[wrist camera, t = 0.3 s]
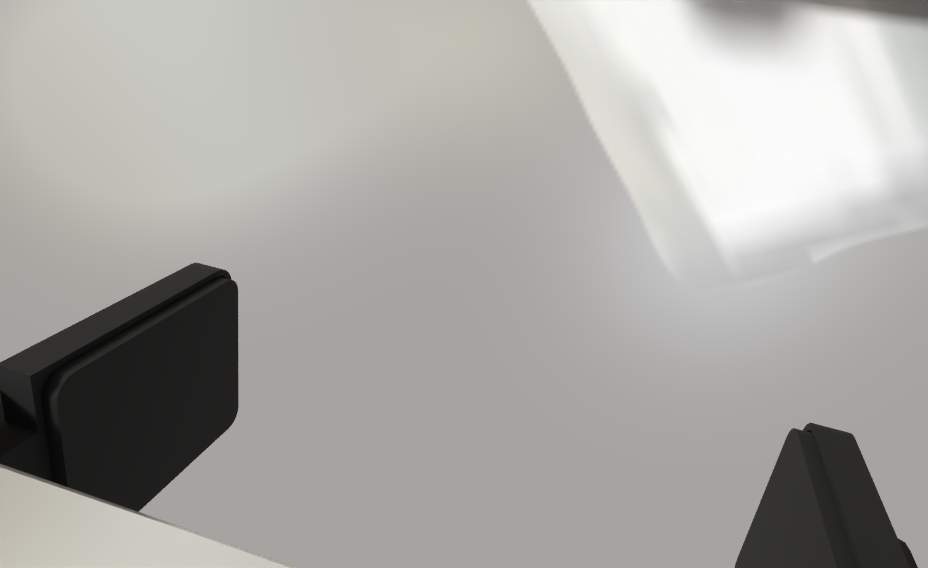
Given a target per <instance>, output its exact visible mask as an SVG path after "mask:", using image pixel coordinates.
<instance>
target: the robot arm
mask: <svg viewBox="0 0 928 568" xmlns="http://www.w3.org/2000/svg"><path fill="white" fill-rule="evenodd" d="M237 412H238V287H237V284H236V283H235V282H234V281H233V280H231V276H230V274H229V273H228V272H227V271H226V270H222V269H219V268H215V267H211V266H207V265H203V264H200V263H193V264H191V265H189V266H186V267H185V268H183V269H181V270H179V271H177V272H175V273H173V274H171V275H169V276H167V277H165V278H163V279H161V280H159V281H157V282H155V283H154V284H152V285H150V286H148V287H146V288H144V289H142V290H140V291H138V292H136V293H134V294H132V295H130V296H128V297H126V298H124V299H122V300H121V301H119V302H117V303H115V304H113V305H111V306H109V307H107V308H105V309H103V310H101V311H99V312H97V313H95V314H93V315H92V316H89V317H88V318H86V319H84V320H82V321H80V322H78V323H76V324H74V325H72V326H70V327H68V328H66V329H64V330H62V331H60V332H58V333H57V334H55V335H53V336H51V337H49V338H47V339H45V340H43V341H41V342H39V343H37V344H35V345H33V346H31V347H29V348H27V349H26V350H24V351H22V352H20V353H18V354H16V355H14V356H12V357H10V358H8V359H6V360H4V361H2V362H0V568H296V567H293V566H291V565H288V564H285V563H282V562H280V561H277V560H274V559H271V558H268V557H265V556H262V555H260V554H257V553H254V552H251V551H248V550H245V549H243V548H240V547H237V546H234V545H232V544H228V543H226V542H223V541H220V540H217V539H215V538H212V537H209V536H206V535H203V534H200V533H197V532H194V531H192V530H188V529H186V528H183V527H180V526H177V525H174V524H171V523H168V522H166V521H163V520H160V519H157V518H154V517H151V516H149V515H145V514H143V513H140V512H139V511H140V510H141V509H142V508H143V507H144V506H145V505H146V504H147V503H148V502H149V501H151V500H152V499H153V498H154V497H155V496H156V495H157V494H158V493H159V492H160V491H161V490H162V489H163V488H165V487H166V486H167V485H168V484H169V483H170V482H171V481H172V480H173V479H174V478H175V477H176V476H178V475H179V473H181V472H182V471H183V470H184V469H185V468H186V467H187V466H188V465H189V464H190V463H191V462H192V461H193V460H195V459H196V458H197V457H198V456H199V455H200V454H201V453H202V452H203V451H204V450H206V449H207V448H208V447H209V446H210V445H211V444H212V443H213V442H214V441H215V440H216V439H217V438H219V437H220V435H222V434H223V433H224V432H225V431H226V430H227V429H228V428H229V427H230V426H231V425H232V423H233V422H234V420H235V418H236V415H237ZM735 568H918V567H917V565H916V563H915V560H914V558H913V556H912V554H911V551H910V550H909V548H908V547H907V545H906V543H905V542H903V541H902V540H900V539H898V538H897V536H896V534H895V531H894V529H893V527H892V524H891V522H890V520H889V517H888V515H887V513H886V510H885V508H884V506H883V503H882V501H881V499H880V496H879V494H878V492H877V489H876V487H875V484H874V482H873V480H872V477H871V475H870V473H869V470H868V468H867V466H866V463H865V461H864V459H863V456H862V454H861V451H860V449H859V447H858V444H857V442H856V440H855V438H854V436H853V435H852V434H851V433H848V432H844V431H840V430H836V429H832V428H829V427H824V426H821V425H817V424H813V423H809V424H807V425H806V426H805V428H804V429H803V431H802V430H798V429H795V428H794V429H791V431H790V432H789V434H788V436H787V438H786V440H785V443H784V445H783V448H782V450H781V452H780V455H779V458H778V460H777V462H776V465H775V468H774V470H773V472H772V475H771V477H770V480H769V482H768V485H767V487H766V490H765V492H764V494H763V497H762V499H761V502H760V504H759V507H758V509H757V512H756V514H755V517H754V519H753V521H752V524H751V527H750V529H749V531H748V534H747V536H746V539H745V541H744V544H743V546H742V549H741V551H740V554H739V556H738V559H737V562H736V565H735Z"/></svg>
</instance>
